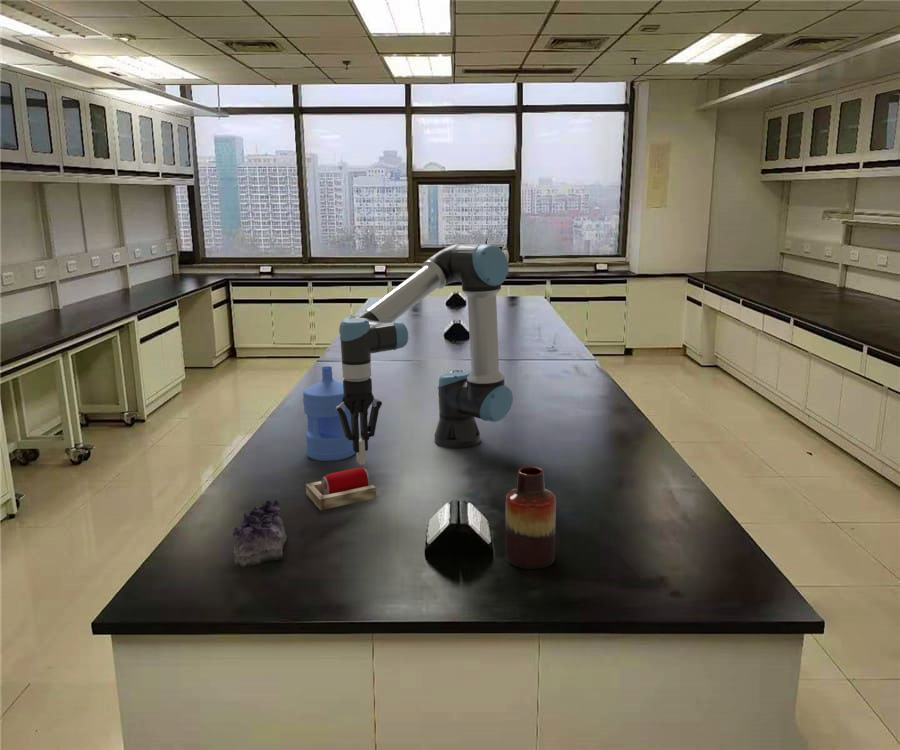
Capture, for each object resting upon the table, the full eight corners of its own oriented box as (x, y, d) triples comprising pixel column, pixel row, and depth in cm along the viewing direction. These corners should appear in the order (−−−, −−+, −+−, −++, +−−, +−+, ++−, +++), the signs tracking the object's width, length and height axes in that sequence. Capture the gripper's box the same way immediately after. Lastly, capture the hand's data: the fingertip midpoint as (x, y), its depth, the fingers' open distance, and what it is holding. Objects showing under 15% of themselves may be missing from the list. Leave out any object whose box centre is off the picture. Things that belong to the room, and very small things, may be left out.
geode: (241, 531, 171) (244, 492, 170) (290, 533, 173) (293, 495, 171) (225, 569, 152) (228, 525, 150) (280, 572, 153) (284, 528, 151)
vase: (564, 556, 156) (566, 469, 151) (536, 575, 148) (537, 484, 143) (524, 541, 163) (525, 458, 158) (495, 559, 155) (495, 472, 150)
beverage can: (360, 475, 198) (319, 483, 192) (364, 462, 194) (322, 470, 188) (367, 493, 194) (326, 502, 189) (372, 480, 190) (330, 489, 184)
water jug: (328, 442, 234) (324, 360, 228) (366, 450, 226) (362, 365, 220) (296, 457, 221) (290, 370, 215) (335, 465, 213) (329, 375, 207)
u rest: (359, 483, 199) (359, 473, 199) (376, 497, 189) (375, 487, 188) (306, 494, 192) (305, 484, 191) (320, 510, 182) (319, 499, 181)
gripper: (374, 372, 192) (378, 454, 198) (328, 378, 186) (333, 462, 192) (385, 377, 186) (388, 462, 191) (338, 384, 180) (343, 471, 185)
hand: (361, 462), depth 191 cm, fingers closed
